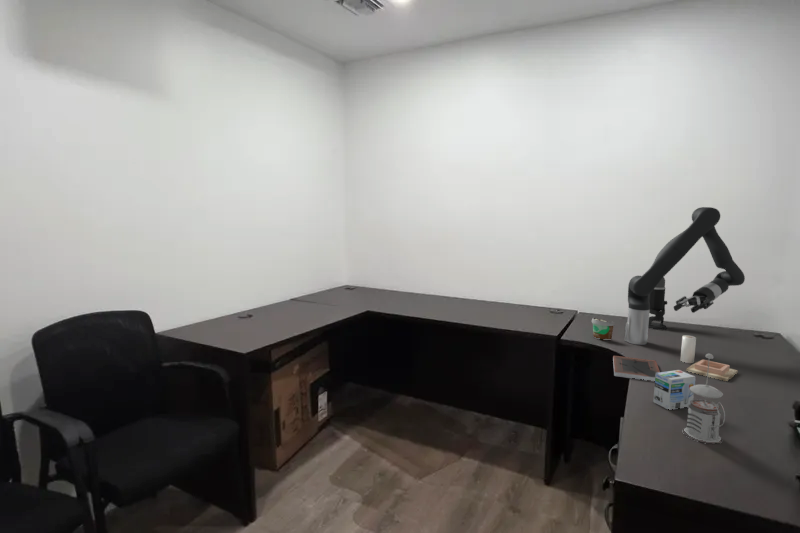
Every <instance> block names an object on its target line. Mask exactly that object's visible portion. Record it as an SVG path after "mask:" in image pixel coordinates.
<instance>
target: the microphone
mask: <svg viewBox="0 0 800 533" xmlns="http://www.w3.org/2000/svg"><path fill="white" fill-rule="evenodd" d="M665 285H666V279H665V276H664V277H663V278H662V279H661V281H660V282H659V283H658V284H657V286H656V287H655V288H654V290H653V291H652V292H651V293H650V294H649V295H648V300H649V303H650V311H649V315H652V316H649V325H648V329H650V328H653V329H652V330H658V329H663V330H666V329H667V325H666V324H664V319H665V318H664V315H665V314H666V308H665V307H666V305H668V301H667V300H665V297H666V296H665V295H666V287H665ZM654 321H655V322H654Z"/></svg>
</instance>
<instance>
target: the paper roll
mask: <svg viewBox="0 0 800 533" xmlns="http://www.w3.org/2000/svg"><path fill="white" fill-rule="evenodd" d="M696 343H697V337H695V336H693V335H682V337H681V349H680V362H681V361H682V362H681V363H684V362H685V364H694V363H695V354H696V346H697V345H696Z"/></svg>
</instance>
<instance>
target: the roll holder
mask: <svg viewBox="0 0 800 533" xmlns="http://www.w3.org/2000/svg"><path fill="white" fill-rule="evenodd" d="M708 361H709V371H708ZM686 371H688V372H687V373H690V372H692V373H691V374H694V373H696V374H695V375H698V374H699V376H702V375H703V377H706V376H707V371H708V378H710V377H711V378H710V379H714V378H715V380H718V379H719V381H722V380H723V381H722V382H726V381H727V382H729V381H730V380H732V378H733V377H734V375H735V374H736V375H737V374H738V372H739V371H738V370H737V369H734V368H730V365H729V364H726V363H722V362H716V361H712V360H709V359H703V358H702V359H701V360H697V361H695V362H694V363H692V364H691V365H690V366H688V367H687V368H686V369H685V372H686ZM736 375H735V376H736ZM729 379H730V380H729ZM728 380H729V381H728Z"/></svg>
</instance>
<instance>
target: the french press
mask: <svg viewBox="0 0 800 533" xmlns="http://www.w3.org/2000/svg"><path fill="white" fill-rule="evenodd" d="M705 358H706V359H708V371H709V361H711V360H713V359H714V355H713V354H712V353H706V354H705ZM710 359H711V360H710ZM708 371H707V377H706V383H705V384H695V385H694V386H691V387H690V391H691V392H692V393H694V395H697V396H699V397H703V398H704V399H701V398H699V399H698V398H695V399H694V398H693V400H691V401H690V402H691V404H690V405H689V407H687V408H688V409H687V413H688V414H687V420H686V421H687V423H686V427H684V428H683V429H684V431H685V432H686V433H687V434H688V435H689V436H691V437H693V438H695V439H698V440H703V441H706V442H719V441H720V440H721V438H722V437H721V436H720V435H719V433H720V432H719V431H720V427H722V426H723V425H724V424H725V422H726V421H725V420H726V411H725V408H724V406H723V405H722V404H723V403H721V401H718V402H717V403H716V402H714V401H710V400H707V399H720V398H721V397H723V396H724V393H723V392H722V391H721V390H720V389H717V388H716V387H714V386H712V385H708V381H709V380H708V379H709V377H708ZM719 404H720V405H719ZM720 406H721V407H722V411H723V421H722V423H721V415H722V414H721V413H722V412H721V411H720V409H721V408H720ZM704 412H705V413H704ZM706 413H707V414H706ZM708 413H709V414H708Z"/></svg>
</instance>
